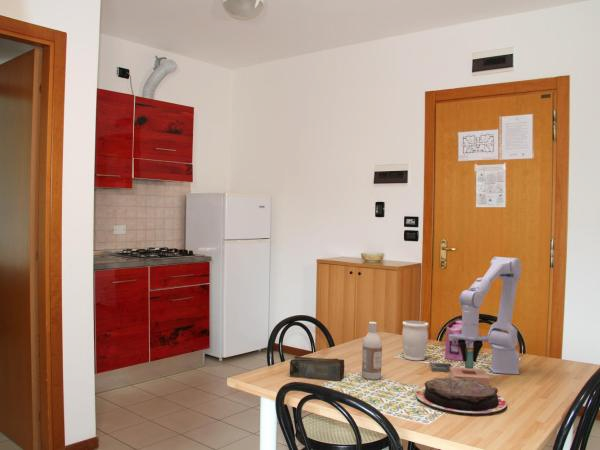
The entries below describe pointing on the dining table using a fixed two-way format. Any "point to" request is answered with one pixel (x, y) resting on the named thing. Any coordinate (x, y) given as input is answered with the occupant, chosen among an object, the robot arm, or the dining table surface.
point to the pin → (469, 357)
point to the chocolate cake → (461, 396)
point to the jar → (415, 339)
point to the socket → (470, 374)
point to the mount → (440, 367)
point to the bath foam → (372, 354)
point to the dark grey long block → (317, 368)
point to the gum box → (453, 346)
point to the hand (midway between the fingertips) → (469, 361)
